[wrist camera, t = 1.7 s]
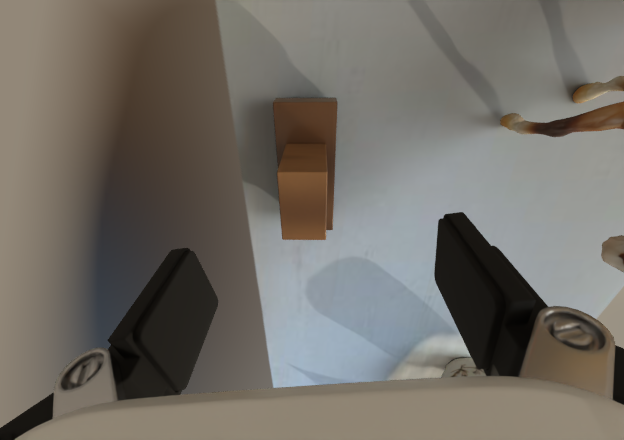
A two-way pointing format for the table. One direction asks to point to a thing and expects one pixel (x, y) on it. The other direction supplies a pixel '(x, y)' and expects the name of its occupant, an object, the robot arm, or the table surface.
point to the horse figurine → (620, 115)
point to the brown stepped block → (305, 165)
